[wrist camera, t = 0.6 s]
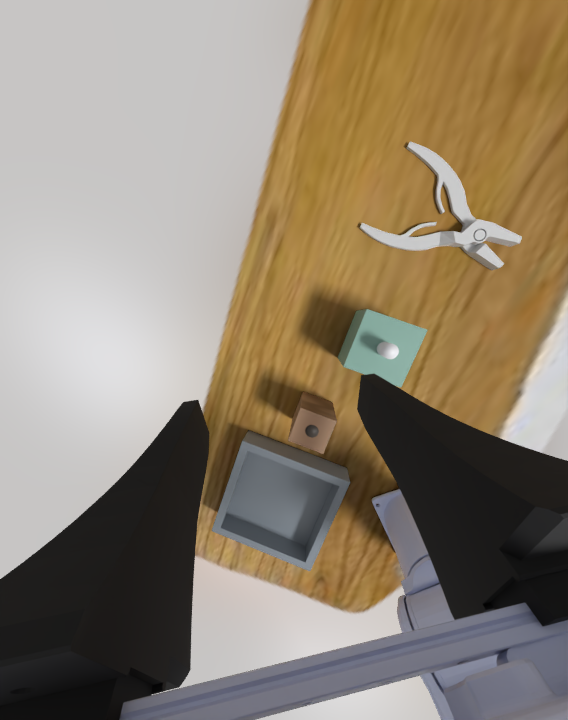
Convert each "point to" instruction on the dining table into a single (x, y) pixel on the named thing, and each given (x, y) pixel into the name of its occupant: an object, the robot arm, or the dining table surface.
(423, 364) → the dining table surface
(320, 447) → the walnut block
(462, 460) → the robot arm
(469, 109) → the dining table surface
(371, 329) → the green block
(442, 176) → the pliers
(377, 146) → the dining table surface
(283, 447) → the tray
